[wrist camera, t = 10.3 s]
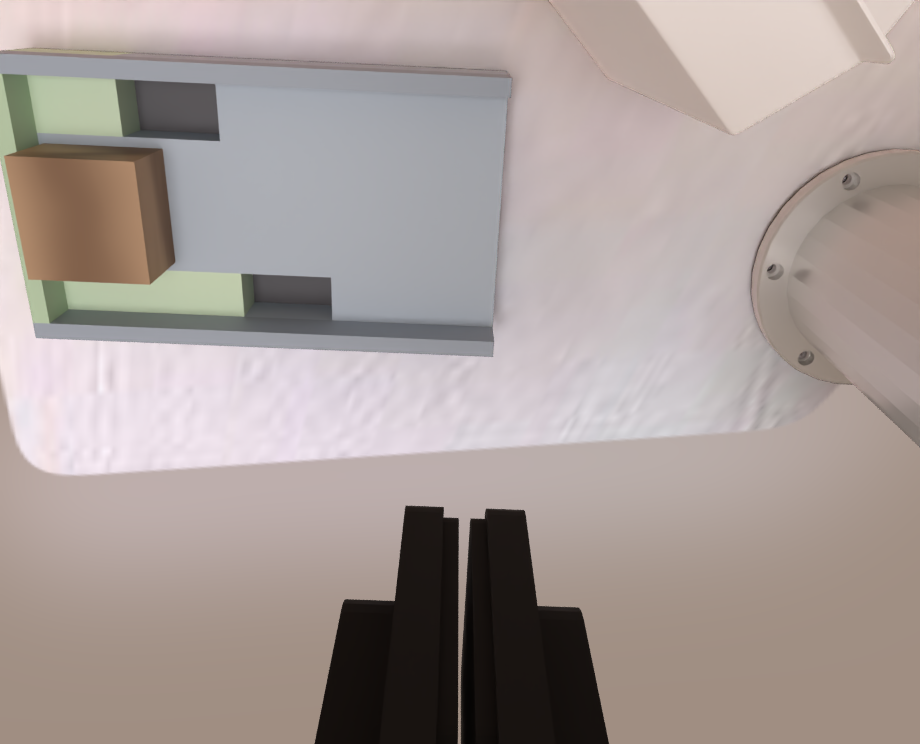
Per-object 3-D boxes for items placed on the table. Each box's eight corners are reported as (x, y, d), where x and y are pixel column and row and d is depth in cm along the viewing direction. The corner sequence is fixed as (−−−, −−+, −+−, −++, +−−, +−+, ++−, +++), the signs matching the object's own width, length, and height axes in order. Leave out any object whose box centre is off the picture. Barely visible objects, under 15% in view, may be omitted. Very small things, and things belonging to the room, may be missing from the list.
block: (162, 148, 36) (134, 161, 33) (175, 262, 39) (150, 284, 35) (43, 143, 36) (4, 155, 33) (64, 257, 38) (28, 279, 35)
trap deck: (506, 70, 37) (512, 78, 33) (489, 323, 43) (492, 356, 39) (32, 48, 37) (-22, 52, 33) (77, 306, 42) (36, 338, 38)
